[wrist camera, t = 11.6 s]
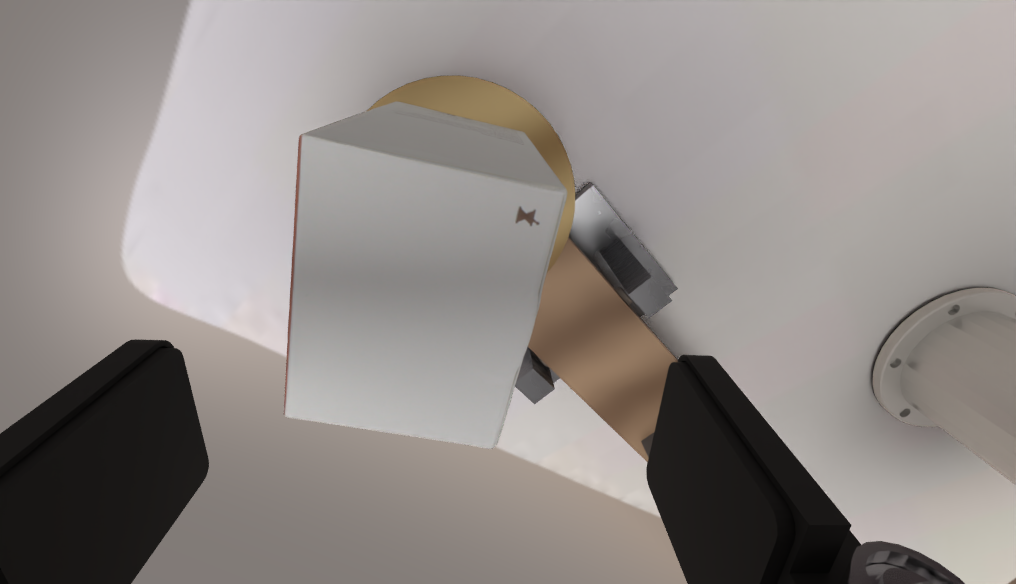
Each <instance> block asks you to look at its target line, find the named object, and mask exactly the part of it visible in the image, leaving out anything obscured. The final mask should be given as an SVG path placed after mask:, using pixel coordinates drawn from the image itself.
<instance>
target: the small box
mask: <svg viewBox="0 0 1016 584" xmlns="http://www.w3.org/2000/svg"><path fill="white" fill-rule="evenodd" d="M566 199H567V189H566V188H565V187H564V185H563V184H562V183H561V182H560V180H559V179H558V177H557V176H556V175H555V173H554V172H553V170H552V169H551V168H550V166H549V165H548V164H547V162H546V161H545V160H544V158H543V157H542V156H541V154H540V153H539V151H538V150H537V149H536V147H535V146H534V144H533V143H532V142H531V141H530V139H529V138H528V136H527V135H526V134H525V133H524V132H522V131H518V130H514V129H509V128H505V127H501V126H497V125H493V124H489V123H485V122H480V121H476V120H472V119H468V118H464V117H460V116H455V115H451V114H447V113H443V112H439V111H435V110H431V109H427V108H423V107H419V106H415V105H411V104H407V103H403V102H398V101H396V102H393V103H390V104H387V105H384V106H380V107H377V108H374V109H371V110H369V111H367V112H363V113H361V114H357V115H355V116H352V117H349V118H346V119H343V120H340V121H337V122H335V123H332V124H329V125H326V126H323V127H320V128H318V129H315V130H312V131H309V132H307V133H304V134H301V135H300V137H299V146H298V163H297V180H296V199H295V218H294V237H293V253H292V272H291V288H290V308H289V322H288V345H287V363H286V383H285V401H284V415H285V416H286V417H289V418H294V419H301V420H308V421H314V422H320V423H327V424H334V425H342V426H348V427H354V428H361V429H367V430H374V431H381V432H387V433H393V434H400V435H407V436H413V437H420V438H427V439H433V440H439V441H446V442H451V443H458V444H464V445H470V446H476V447H482V448H486V449H493V448H494V447H495V446H496V445H497V443H498V440H499V437H500V434H501V431H502V427H503V424H504V421H505V418H506V415H507V411H508V408H509V405H510V402H511V398H512V394H513V391H514V388H515V384H516V381H517V378H518V375H519V371H520V368H521V365H522V361H523V358H524V355H525V353H526V350H527V347H528V344H529V341H530V338H531V335H532V331H533V328H534V324H535V319H536V316H537V313H538V310H539V306H540V301H541V294H542V289H543V285H544V281H545V277H546V273H547V270H548V266H549V262H550V258H551V255H552V251H553V247H554V244H555V240H556V236H557V232H558V229H559V225H560V221H561V217H562V214H563V210H564V206H565V203H566Z"/></svg>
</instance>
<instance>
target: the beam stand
mask: <svg viewBox="0 0 1016 584" xmlns="http://www.w3.org/2000/svg"><path fill="white" fill-rule="evenodd" d="M569 238H570V239H571V240H572V241H573V242H574V243H575V244H576V246H577V247H578V248H579V249H580V250H581V251H582V252H583V254H584V255H585V256H586V257H587V258H588V259H589V260H590V261H591V263H592V264H593V265H594V266H595V267H596V268H597V269H598V270H599V272H600V273H601V274H602V275H603V276H604V277H605V278H606V280H607V281H608V282H609V283H610V284H611V285H612V286H613V287H614V289H615V290H616V289H617V288H618V287H621V288H622V289H623V290H624V291H625V293H626V294H627V295H628V296H629V297H630V299H631V300H632V303H631V304H629V306H630V307H631V308H632V309H633V310H634V311H635V312H636V313H637V315H638V316H639V317H641V316H642V315H644V314H646V315H647V316H648V318H650V317H651V316H652V315H654V314H655V313H656V312H658V311H659V310H660V309H662V308H663V307H664V306H666V305H667V304H668V303H670V302H671V301H672V300H671V299H670V298H669V295H670V294H671V293H673V292H674V291H675V290H677V289H678V288H677V287H676V286H675V284H674V283H673V282H672V281H671V280H670V278H669V277H668V276H667V275H666V273H665V272H664V271H663V270H662V269H661V267H660V266H659V265H658V264H657V262H656V261H655V260H654V259H653V258H652V256H651V255H650V254H649V253H648V251H647V250H646V249H645V248H644V247H643V245H642V244H641V243H640V242H639V240H638V239H637V238H636V237H635V236H634V234H633V233H632V232H631V231H630V229H629V228H628V227H627V226H626V225H625V223H624V222H623V221H622V220H621V218H620V217H619V216H618V215H617V214H616V212H615V211H614V210H613V209H612V207H611V206H610V205H609V204H608V203H607V201H606V200H605V199H604V198H603V196H602V195H601V194H600V193H599V192H598V190H597V189H596V188H595V187H594V185H593V184H591V183H589V184H587V185H586V186H585V187H584V188H583V189H582V190H581V191H579V192H578V193H577V194H576V195H575V212H574V217H573V223H572V227H571V230H570V233H569ZM559 378H560V377H559V376H558V375H557V374H556V373H555V372H554V371H553V370H552V369H551V368H549V367H547V366H545V365H544V364H543V363H542V362H541V361H540V359H539V358H538V356H537V355H536V354H535V353H534V352H533V351H532V350H531V349H530V348H529V347H527V350H526V353H525V355H524V358H523V361H522V365H521V368H520V371H519V375H518V378H517V381H516V384H515V387H516V388H517V389H518V390H520V391H521V392H522V393H523V394H524V395H525V396H526V397H527V398H528V399H529V400H531V401H532V402H533V403H534V404H536V403H537V402H538V401H539V400H541V399H542V398H543V397H545V396H546V395H547V394H549V393H550V392H551V391H553V390H554V389H555V388H554V384H553V383H554V382H555V381H557V380H558V379H559Z"/></svg>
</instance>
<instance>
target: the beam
mask: <svg viewBox="0 0 1016 584" xmlns="http://www.w3.org/2000/svg"><path fill="white" fill-rule="evenodd" d="M396 101H398V102H403V103H407V104H411V105H415V106H419V107H423V108H427V109H431V110H435V111H439V112H443V113H447V114H451V115H455V116H460V117H464V118H468V119H472V120H476V121H480V122H485V123H489V124H493V125H497V126H501V127H505V128H509V129H514V130H518V131H522V132H524V133H525V134H526V135H527V136H528V138H529V139H530V141H531V142H532V143H533V144H534V146H535V147H536V149H537V150H538V151H539V153H540V154H541V156H542V157H543V158H544V160H545V161H546V162H547V164H548V165H549V166H550V168H551V169H552V170H553V172H554V173H555V175H556V176H557V177H558V179H559V180H560V182H561V183H562V184H563V185H564V187H565V188H566V189H567V199H566V203H565V206H564V210H563V214H562V217H561V221H560V225H559V229H558V232H557V236H556V240H555V244H554V247H553V251H552V255H551V258H550V262H549V266H548V270H547V273H546V277H545V281H544V285H543V289H542V294H541V301H540V306H539V310H538V313H537V316H536V319H535V324H534V328H533V331H532V335H531V338H530V341H529V344H528V347H529V348H530V349H531V350H532V351H533V352H534V353H535V354H536V355H537V356H538V358H539V359H540V361H541V362H542V363H543V364H544V365H545V366H547V367H549V368H551V369H552V370H553V371H554V372H555V373H556V374H557V375H558V376H559V377H560V378H561V379H562V380H563V381H564V382H565V383H566V384H567V385H568V386H569V387H570V388H571V389H572V390H573V391H574V392H575V393H576V394H577V395H578V396H579V397H581V398H582V399H583V400H584V401H585V402H586V403H587V404H588V405H589V406H590V407H591V408H592V409H593V410H594V411H595V412H596V413H597V414H598V415H599V416H600V417H601V418H602V419H603V420H604V421H605V422H606V423H607V424H608V425H609V426H611V427H612V428H613V429H614V430H615V431H616V432H617V433H618V434H619V435H620V436H621V437H622V438H623V439H624V440H625V441H626V442H627V443H628V444H629V445H630V446H631V447H632V448H633V449H634V450H635V451H636V452H637V453H638V454H640V455H641V456H642V457H643V458H644V459H645V460H646V461H647V462H648V459H649V454H650V450H651V445H652V441H653V436H654V432H655V427H656V423H657V418H658V414H659V409H660V404H661V400H662V395H663V391H664V386H665V382H666V377H667V373H668V369H669V366H670V364H671V363H672V362H678V360H677V359H676V358H675V356H674V355H673V354H672V353H671V352H670V351H669V350H668V349H667V347H666V346H665V345H664V344H663V343H662V342H661V341H660V339H659V338H658V337H657V336H656V335H655V334H654V333H653V332H652V330H651V329H650V328H649V327H648V326H647V325H646V324H645V323H644V321H643V320H642V319H641V318H640V317H639V316H638V315H637V313H636V312H635V311H634V310H633V309H632V308H631V307H630V306H629V304H631V303H632V300H631V299H630V297H629V296H628V295H627V294H626V293H625V291H624V290H623V289H622V288H621V287H618V288H617V289H616V290H615V289H614V287H613V286H612V285H611V284H610V283H609V282H608V281H607V280H606V278H605V277H604V276H603V275H602V274H601V273H600V272H599V270H598V269H597V268H596V267H595V266H594V265H593V264H592V263H591V261H590V260H589V259H588V258H587V257H586V256H585V255H584V254H583V252H582V251H581V250H580V249H579V248H578V247H577V246H576V244H575V243H574V242H573V241H572V240H571V239H570V238H569V233H570V230H571V227H572V223H573V217H574V212H575V186H574V178H573V173H572V169H571V164H570V162H569V159H568V156H567V153H566V151H565V148H564V146H563V145H562V143H561V141H560V139H559V137H558V135H557V134H556V132H555V131H554V129H553V128H552V127H551V125H550V124H549V122H548V121H547V120H546V119H545V118H544V117H543V116H542V115H541V114H540V112H539V111H538V110H537V109H536V108H534V107H533V106H532V105H531V104H529V103H528V102H527V101H526V100H525V99H523V98H522V97H520V96H518V95H517V94H515V93H514V92H512V91H510V90H509V89H506V88H504V87H502V86H499V85H497V84H495V83H493V82H489V81H485V80H482V79H478V78H473V77H466V76H437V77H431V78H424V79H421V80H418V81H414V82H411V83H408V84H406V85H404V86H402V87H400V88H397V89H395V90H393V91H392V92H390V93H389V94H387V95H386V96H384V97H383V98H381V99H380V100H378V101H377V102H376V103H375V104H374V105H373V106H372V107H371V108H369V109H368V110H367V111H369V110H371V109H374V108H377V107H380V106H384V105H387V104H390V103H393V102H396ZM367 111H366V112H367Z"/></svg>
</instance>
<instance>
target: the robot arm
mask: <svg viewBox="0 0 1016 584" xmlns="http://www.w3.org/2000/svg"><path fill="white" fill-rule="evenodd" d="M873 389H874V393H875V396H876V398H877V400H878V402H879V403H880V405H881V406H882V407H883V408H884V409H885V410H886V411H887V412H889V413H890V414H891V415H892V416H894V417H895V418H896V419H898V420H900V421H902V422H904V423H907V424H909V425H914V426H919V427H938V426H939V427H940V428H942V429H943V430H944V431H946V432H947V433H948V434H950V435H951V436H952V437H953V438H955V439H956V440H957V441H959V442H960V443H961V444H963V445H964V446H965V447H967V448H968V449H969V450H970V451H972V452H973V453H974V454H976V455H977V456H978V457H980V458H981V459H982V460H984V461H985V462H986V463H987V464H989V465H990V466H991V467H993V468H994V469H995V470H997V471H998V472H999V473H1001V474H1002V475H1003V476H1004V477H1006V478H1007V479H1008V480H1010V481H1011V482H1012V483H1014V484H1015V485H1016V295H1013V294H1011V293H1009V292H1006V291H1003V290H999V289H995V288H972V289H965V290H960V291H957V292H954V293H951V294H947V295H945V296H943V297H941V298H938V299H936V300H934V301H932V302H930V303H928V304H927V305H925V306H923V307H922V308H920V309H919V310H917V311H916V312H914V313H913V314H912V315H911V316H909V317H908V318H907V319H906V320H905V321H903V322H902V323H901V324H900V325H899V326H898V328H897V329H896V330H895V331H894V332H893V333H892V334H891V335H890V337H889V338H888V340H887V341H886V343H885V344H884V345H883V347H882V349H881V351H880V353H879V355H878V357H877V360H876V363H875V367H874V371H873ZM208 467H209V460H208V455H207V451H206V447H205V443H204V439H203V435H202V431H201V427H200V423H199V419H198V415H197V410H196V406H195V402H194V398H193V394H192V390H191V386H190V382H189V378H188V374H187V370H186V366H185V362H184V358H183V355H182V352H181V351H180V350H178V349H176V348H174V346H173V345H172V344H171V343H170V342H168V341H166V340H165V341H164V340H130V341H128V342H126V343H125V344H123V345H122V346H121V347H119V348H118V349H116V350H115V351H114V352H112V353H111V354H110V355H108V356H107V357H105V358H104V359H103V360H101V361H100V362H98V363H97V364H96V365H94V366H93V367H92V368H90V369H89V370H87V371H86V372H85V373H83V374H82V375H81V376H79V377H78V378H76V379H75V380H74V381H72V382H71V383H70V384H68V385H67V386H65V387H64V388H63V389H61V390H60V391H58V392H57V393H56V394H54V395H53V396H52V397H51V398H49V399H47V400H46V401H45V402H43V403H42V404H41V405H39V406H38V407H36V408H35V409H34V410H33V411H31V412H30V413H28V414H27V415H25V416H24V417H23V418H21V419H20V420H19V421H17V422H16V423H14V424H13V425H12V426H10V427H9V428H8V429H6V430H5V431H3V432H2V433H1V434H0V584H131V583H132V581H133V580H134V579H135V577H136V576H137V574H138V573H139V571H140V570H141V569H142V567H143V566H144V565H145V563H146V562H147V560H148V559H149V557H150V556H151V554H152V553H153V552H154V550H155V549H156V547H157V546H158V545H159V543H160V542H161V540H162V539H163V538H164V536H165V535H166V533H167V532H168V531H169V529H170V528H171V526H172V525H173V524H174V522H175V521H176V519H177V518H178V516H179V515H180V514H181V512H182V511H183V509H184V508H185V507H186V505H187V503H188V502H189V501H190V499H191V498H192V497H193V495H194V494H195V492H196V491H197V489H198V488H199V487H200V485H201V484H202V483H203V481H204V479H205V477H206V475H207V472H208ZM647 481H648V485H649V488H650V490H651V493H652V495H653V498H654V500H655V503H656V506H657V508H658V511H659V513H660V516H661V518H662V521H663V523H664V525H665V528H666V531H667V533H668V536H669V538H670V540H671V543H672V546H673V548H674V551H675V553H676V556H677V558H678V561H679V563H680V566H681V568H682V571H683V573H684V576H685V578H686V581H687V583H688V584H965V583H964V582H963V581H962V580H961V579H960V578H959V577H957V576H956V575H954V574H953V573H952V572H950V571H949V570H948V569H946V568H945V567H943V566H942V565H941V564H939V563H938V562H936V561H934V560H932V559H930V558H928V557H927V556H925V555H923V554H921V553H919V552H917V551H915V550H912V549H909V548H907V547H904V546H901V545H899V544H894V543H888V542H883V541H876V542H866V543H864V544H862V545H861V544H860V543H859V541H858V540H857V539H856V538H855V536H854V535H853V534H852V533H851V531H850V530H849V529H850V527H851V524H850V523H849V522H848V520H847V519H846V518H845V517H844V516H843V514H842V513H841V512H840V511H839V509H838V508H837V507H836V506H835V505H834V503H833V502H832V501H831V500H830V498H829V497H828V496H827V495H826V494H825V492H824V491H823V490H822V489H821V487H820V486H819V485H818V484H817V483H816V481H815V480H814V479H813V478H812V476H811V475H810V474H809V473H808V472H807V470H806V469H805V468H804V467H803V465H802V464H801V463H800V462H799V461H798V459H797V458H796V457H795V456H794V454H793V453H792V452H791V451H790V450H789V448H788V447H787V446H786V445H785V443H784V442H783V441H782V440H781V439H780V437H779V436H778V435H777V434H776V432H775V431H774V430H773V429H772V428H771V426H770V425H769V424H768V423H767V421H766V420H765V419H764V418H763V417H762V415H761V414H760V413H759V412H758V410H757V409H756V408H755V407H754V406H753V404H752V403H751V402H750V401H749V399H748V398H747V397H746V396H745V395H744V393H743V392H742V391H741V390H740V388H739V387H738V386H737V385H736V384H735V382H734V381H733V380H732V379H731V377H730V376H729V375H728V374H727V373H726V371H725V370H724V369H723V368H722V366H721V365H720V364H719V363H718V362H717V360H716V359H715V358H714V357H712V356H699V355H682V356H681V357H680V358H679V359H678V362H672V363H671V364H670V366H669V369H668V373H667V377H666V382H665V386H664V391H663V395H662V400H661V404H660V409H659V414H658V418H657V423H656V427H655V432H654V436H653V441H652V445H651V450H650V454H649V459H648V463H647Z"/></svg>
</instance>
